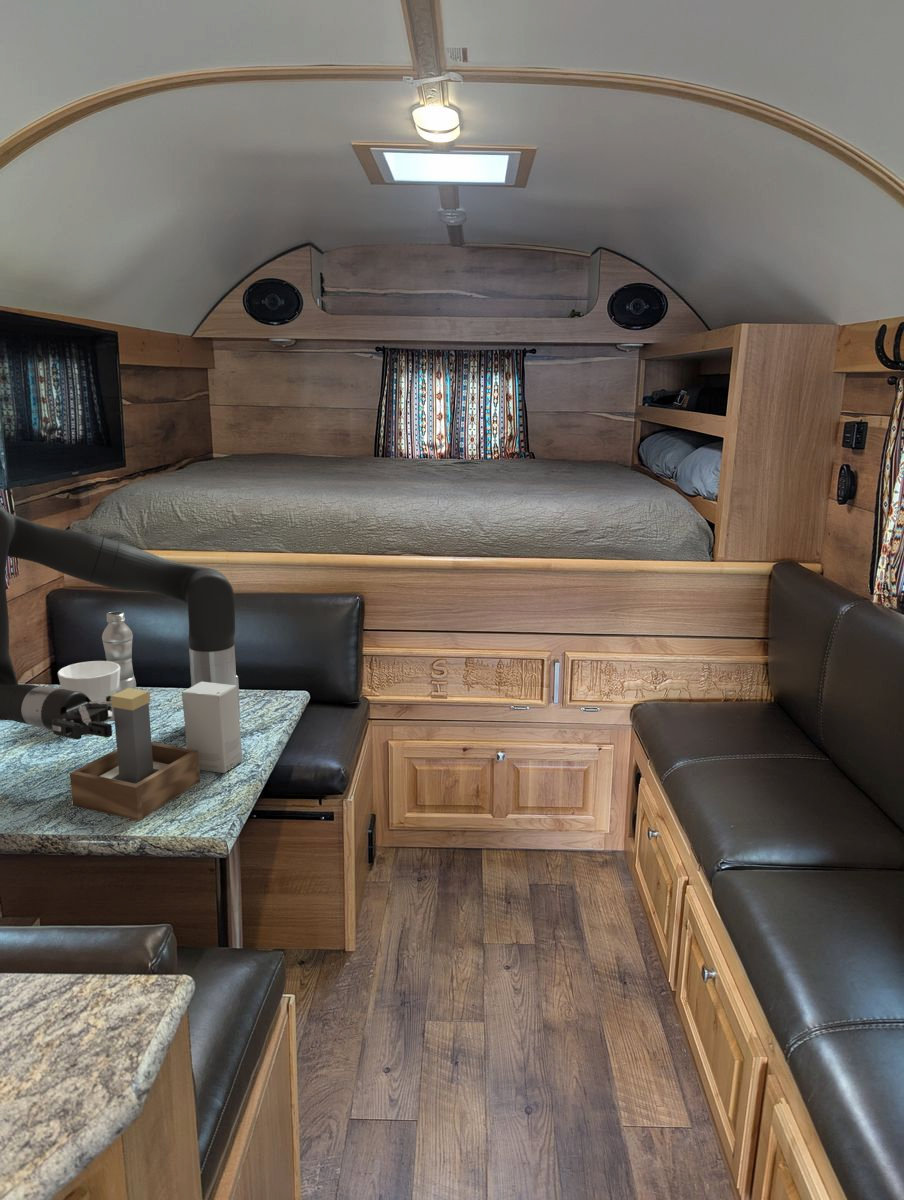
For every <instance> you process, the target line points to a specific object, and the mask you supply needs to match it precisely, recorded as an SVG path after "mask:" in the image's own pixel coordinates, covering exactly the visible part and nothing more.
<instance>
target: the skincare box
mask: <svg viewBox="0 0 904 1200" xmlns="http://www.w3.org/2000/svg"><path fill="white" fill-rule="evenodd" d="M181 699H182V709H183V717H184V729H185V731H184V732H185V738H186V739H185V740H186V749H190V750H195V751H198V753H199V769H200V770H201V771H206V770H207V771H206V772H212V771H213V773H220V774H226V773H227V771H228V770H229V771H230V770H232V769H233V768H235V767H236V766H237V765H239V764H240V763H241V762H242V761H243V749H242V748H243V747H242V739H241V737H242V736H241V723H240V717H239V709H238V697H237V685H228V684H218V683H210V682H199V683H198V684H196V685H194V686H192V687H191V686H190V687H189V688H187V689H184V690H183V691H181ZM240 761H241V762H240ZM239 762H240V763H239ZM238 763H239V764H238ZM236 764H237V765H236ZM235 765H236V766H235ZM234 766H235V767H234ZM232 767H233V768H232ZM231 768H232V769H231ZM229 771H228V772H229Z"/></svg>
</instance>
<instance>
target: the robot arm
mask: <svg viewBox="0 0 904 1200" xmlns="http://www.w3.org/2000/svg"><path fill="white" fill-rule="evenodd" d="M8 557H10V558H15V559H20V560H25V561H29V562H32V563H33V562H34V563H36V564H40V565H42V566H45V567H47V568H49V569H52V570H54V571H56V572H59V573H62V574H65V575H67V576H69V577H72V578H75V579H78V580H82V581H83V582H87V583H88V582H89V583H92V584H95V585H98V586H102V587H105V588H106V587H107V588H111V589H115V590H123V591H134V592H149V593H153V594H154V593H155V594H160V595H163V596H166V597H168V598H172V599H176V600H178V601H180V602H183V603H185V604H187V612H188V615H187V616H188V639H187V640H188V649H189V651H188V652H189V653H188V654H189V669H190V685H191V686H190V688H191V687H192V686H194V685H196V684H198V683H199V682H210V683H218V684H228V685H237V697H238V709H239V718H240V717H241V709H240V708H241V706H240V688H239V687H240V685H239V676H238V675H237V672H236V670H237V668H236V654H235V653H236V652H235V651H236V649H235V635H236V634H235V633H236V612H235V611H236V610H235V609H236V608H235V606H236V605H235V594H234V593H235V592H234V589H233V586H232V584H231V583H230V581H229V580H228V579H227V577H226V576H225V575H224V574H223V573H222V572H220V571H219V570H217V569H214V568H212V567H211V568H210V567H205V566H199V565H194V564H193V565H192V564H188V563H183V562H179V561H178V562H177V561H175V560H169V559H166V558H164V557H161V556H158V555H156V554H155V553H154V554H153V553H151V552H148V551H146V550H143V549H140V548H137V547H135V546H131V545H129V544H126V543H123V542H120V541H116V540H113V539H110V538H107V537H103V536H100V535H95V534H91V533H86V532H81V531H77V530H69V529H63V528H54V527H50V526H47V525H42V524H39V523H36V522H33V521H31V520H29V519H26V518H24V517H21V516H18V515H16V514H13V513H10V512H8V510H6V509H5V508H3V507H2V506H0V721H9V722H10V721H12V722H16V723H19V724H24V725H25V724H26V725H29V726H33V727H36V728H39V729H43V730H48V731H52V733H53V735H55V736H60V737H62V738H63V737H64V738H67V739H68V738H69V739H72V740H80V739H82V737H83V736H85V737H91V736H97V737H101V738H102V737H103V738H107V739H108V738H110V737H112V736H113V728H112V727H113V726H112V724H111V723H109V722H115V719H114V707H112V704H111V696H107V697H106V701H105V702H99V701H91V700H90V699H89V698H88V697H87V696H86V695H85V694H84V693H82V692H78V691H72V690H66V689H61V687H60V688H59V687H53V686H39V685H33V684H27V683H19V682H18V679H17V675H16V672H15V669H14V665H13V662H12V659H11V656H10V621H9V619H10V618H9V610H8V609H9V607H8V599H7V585H6V584H7V583H6V582H7V580H6V577H7V576H6V574H7V563H8V562H7V561H8ZM108 710H109V711H111V712H112V716H110V717H108ZM101 722H103V723H101ZM107 722H108V723H107Z"/></svg>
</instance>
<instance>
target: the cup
mask: <svg viewBox="0 0 904 1200" xmlns="http://www.w3.org/2000/svg"><path fill="white" fill-rule="evenodd" d="M120 668H121V667H120V666H119V665H118V664H117V663H114V662H108V661H106V660H92V661H82V662H77V663H72V664H69V665H67V666H64V667H62V668H60V669H59V670H58V672H57V677H58V680H59V685H60V689H66V690H72V691H78V692H82V693H84V694H85V695H86V696H87V697H88V698H89V699H90V700H91V701H99V702H105V701H106V697H107V696H112V695H114V694H116V691H117V689H118V687H119V681H120ZM110 716H112V712H111V711H109V710H108V717H110ZM101 723H104V722H101Z"/></svg>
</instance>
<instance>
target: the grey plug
mask: <svg viewBox="0 0 904 1200" xmlns="http://www.w3.org/2000/svg"><path fill="white" fill-rule="evenodd" d="M149 703H151V693H150V690H144V689H138V688H136V689H133V688H128V689H125V690H123V691H121V692H118V693H116V694H114V695H112V696H111V704H112V707H114V719H115V721H114V729H115V741H116V749H117V755H118V767H119V780H120V781H125V782H130V783H134V784H136V783H138V782H140V781H142V780H143V779H145V778H147V777H149V776H150V775H152V774H154V770H153V756H152V742H153V741H152V733H151V731H152V730H151V720H150V717H151V716H150V704H149Z"/></svg>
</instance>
